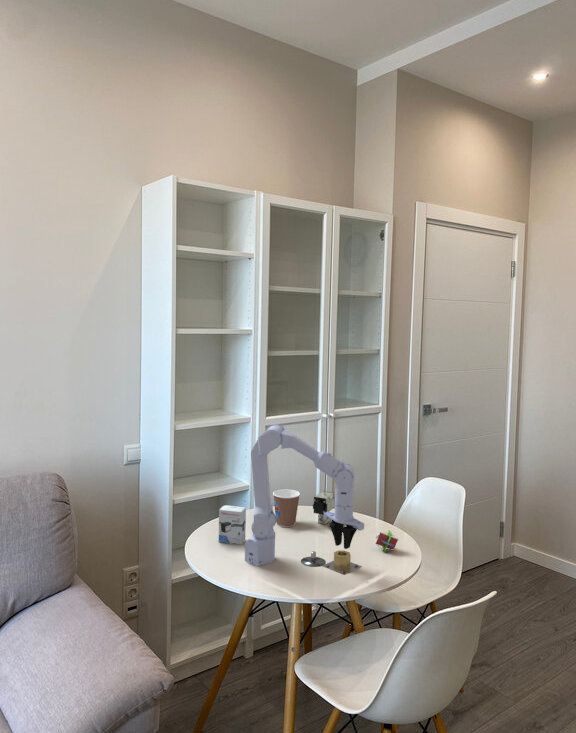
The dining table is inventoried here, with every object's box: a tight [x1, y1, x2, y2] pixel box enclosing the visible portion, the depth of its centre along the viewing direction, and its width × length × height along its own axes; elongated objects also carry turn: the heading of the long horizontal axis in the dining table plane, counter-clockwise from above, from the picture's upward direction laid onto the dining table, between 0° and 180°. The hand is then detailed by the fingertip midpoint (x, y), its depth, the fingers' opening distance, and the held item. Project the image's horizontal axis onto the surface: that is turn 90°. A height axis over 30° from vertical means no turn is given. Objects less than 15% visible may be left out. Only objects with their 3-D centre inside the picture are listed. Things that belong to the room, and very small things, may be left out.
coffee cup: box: [272, 488, 301, 528], centre depth 228 cm, size 10×10×12 cm
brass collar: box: [333, 550, 352, 569], centre depth 189 cm, size 5×5×4 cm
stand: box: [300, 551, 327, 568], centre depth 192 cm, size 8×8×4 cm
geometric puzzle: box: [375, 530, 399, 553], centre depth 205 cm, size 7×7×8 cm
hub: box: [322, 560, 362, 576], centre depth 189 cm, size 9×9×4 cm
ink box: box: [218, 505, 247, 545], centre depth 210 cm, size 8×5×12 cm, turn 76°
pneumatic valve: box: [312, 490, 335, 525], centre depth 230 cm, size 6×12×12 cm, turn 154°
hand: (342, 546), depth 189 cm, fingers open, 3 cm apart
